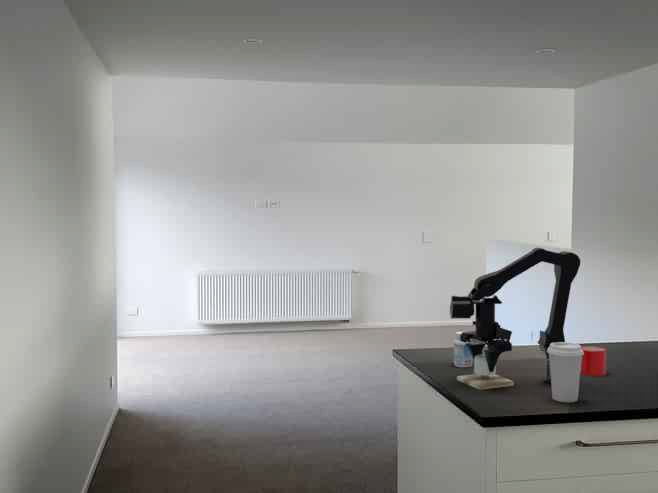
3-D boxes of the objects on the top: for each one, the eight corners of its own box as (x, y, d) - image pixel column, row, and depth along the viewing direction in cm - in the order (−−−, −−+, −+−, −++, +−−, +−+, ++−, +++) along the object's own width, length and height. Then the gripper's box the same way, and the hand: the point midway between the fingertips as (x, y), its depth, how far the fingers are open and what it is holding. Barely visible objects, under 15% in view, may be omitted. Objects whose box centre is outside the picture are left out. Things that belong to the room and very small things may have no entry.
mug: (571, 366, 215) (571, 343, 214) (609, 372, 207) (609, 348, 206) (562, 371, 209) (562, 347, 208) (600, 377, 201) (601, 352, 200)
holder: (513, 385, 193) (513, 374, 192) (479, 389, 188) (479, 378, 188) (489, 376, 204) (489, 365, 204) (457, 380, 199) (457, 369, 199)
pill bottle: (471, 363, 220) (471, 331, 220) (473, 368, 214) (473, 334, 214) (453, 363, 221) (453, 330, 220) (454, 367, 215) (454, 334, 214)
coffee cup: (574, 393, 183) (575, 341, 182) (589, 403, 174) (590, 348, 173) (541, 394, 183) (541, 341, 182) (554, 404, 173) (554, 349, 173)
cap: (499, 374, 194) (499, 357, 194) (482, 376, 192) (482, 359, 192) (487, 369, 200) (487, 353, 199) (470, 371, 198) (470, 355, 197)
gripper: (527, 321, 189) (527, 373, 190) (489, 312, 207) (489, 360, 207) (495, 324, 185) (495, 377, 186) (459, 314, 202) (459, 364, 203)
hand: (485, 369), depth 196 cm, fingers closed on cap, 6 cm apart
